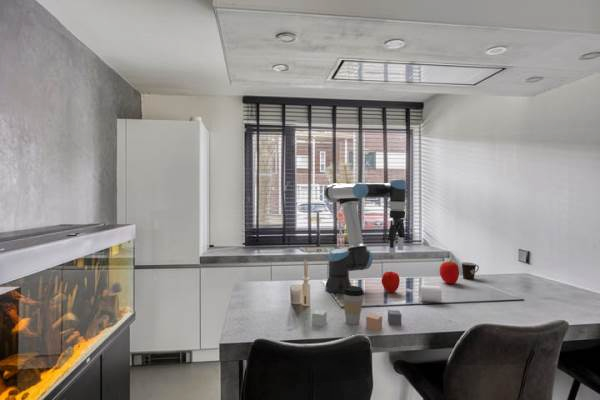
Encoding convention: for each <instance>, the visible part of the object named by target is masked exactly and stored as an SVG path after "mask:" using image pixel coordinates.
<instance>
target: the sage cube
mask: <svg viewBox="0 0 600 400" xmlns="http://www.w3.org/2000/svg"><path fill="white" fill-rule="evenodd" d="M325 324H327V310H320V309H315V310H313V312H312V313H311V325H312V326H318V327H324V326H325Z"/></svg>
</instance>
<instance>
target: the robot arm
mask: <svg viewBox="0 0 600 400" xmlns="http://www.w3.org/2000/svg"><path fill="white" fill-rule="evenodd" d="M323 193H324V197H325V198H326V199H327V201H329V202H332V203H339V206H340V207H341V208H342V212H343V216H344V223H345V229H346V234H347V241H348V247H347V248H336V249H332V250H330V252H329V254H328V277H327V280H326V283H325V291H326V292H329V293H333V294H343V293H342V292H343V290H344V287H346V286H352V284H351V281H350V277H349V276H350V274H349V273H350V272H352V271H353V272H355V271H364V270H368V269H370V268H371V266H372V264H373V260H374V259H373V253H372V252H371V251H372V250H370V249H368V248H367V247H368V246H367V245H366V244H365V243H364V239H363V234H362V230H361V224H360V222H361V221H360V217H359V212H358V205H359V202H360V200H361V199H363V198H364V199H365V198H366V199H367V198H370V199H371V198H378V199H379V198H382V199H385V198H386V199H387V198H388V199H389V209H390V210H389V218H392V219H391V220H390V223H389V224H390V225H389V230H388V235H387V236H388V237H387V242H388V243H389V244H388V245H389V248H388V251H389V252H388V253H389V255H394V256H395V255H396V237H397V236H398V237H397V250H398V251H404V240H405V239H406V233H405V232H406V231H405V224H404V223H405V222H404V219H406V211H405V210H406V206H407V203H406V199H407V198H406V197H407V195H406V193H407V181H406V179H403V178H401V179H400V178H399V179H398V178H397V179H394V178H393V179H391V180H390V182H389V183H387V182H386V183H385V182H384V183H383V182H380V183H379V182H376V183H375V182H374V183H373V182H356V183H331V184H328V185H327V186H326V187H325V188H324V192H323Z"/></svg>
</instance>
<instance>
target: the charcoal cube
mask: <svg viewBox="0 0 600 400" xmlns="http://www.w3.org/2000/svg"><path fill="white" fill-rule="evenodd" d="M387 323H388V326H395V327H401V326H402V313H401V311H400V310H397V309H395V310H393V309H387Z"/></svg>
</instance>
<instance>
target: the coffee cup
mask: <svg viewBox="0 0 600 400" xmlns="http://www.w3.org/2000/svg"><path fill="white" fill-rule="evenodd" d="M341 294H343V308H344V309H343V310H344V314H345V318H344V319H345V323H346V324H348V325H352V326H357V325H359V324H360V320H361V319H360V318H361V311H362V305H363V295H364V294H365V291H364V290H363V288H362V287H360V286H357V285H351V286H346V287H344V290H343V292H342V293H341Z"/></svg>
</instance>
